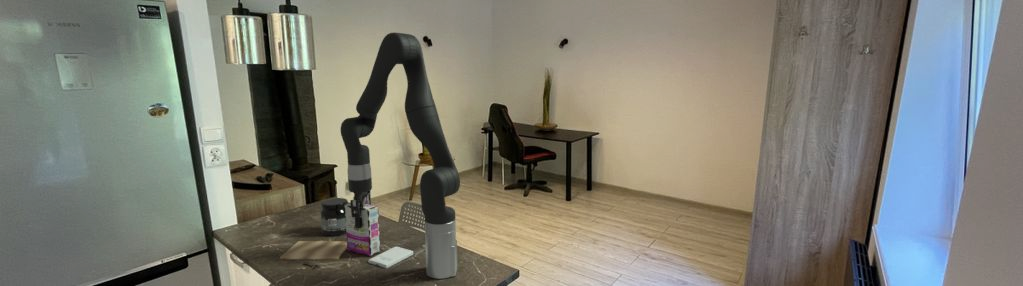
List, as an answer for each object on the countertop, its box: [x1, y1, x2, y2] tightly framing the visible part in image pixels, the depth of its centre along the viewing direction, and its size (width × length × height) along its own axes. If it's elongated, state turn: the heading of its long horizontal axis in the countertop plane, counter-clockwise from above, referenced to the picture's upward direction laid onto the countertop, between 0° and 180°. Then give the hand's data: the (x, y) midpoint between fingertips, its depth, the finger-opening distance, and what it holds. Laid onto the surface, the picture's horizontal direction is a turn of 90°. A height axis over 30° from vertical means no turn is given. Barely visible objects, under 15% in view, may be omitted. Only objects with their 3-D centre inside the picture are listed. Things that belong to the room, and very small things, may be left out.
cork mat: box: [279, 240, 347, 261], centre depth 162 cm, size 19×14×1 cm
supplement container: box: [319, 197, 349, 237], centre depth 179 cm, size 10×10×12 cm
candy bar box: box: [345, 202, 381, 257], centre depth 161 cm, size 11×5×16 cm, turn 62°
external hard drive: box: [367, 246, 414, 269], centre depth 157 cm, size 2×8×12 cm
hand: (362, 223), depth 161 cm, fingers closed on candy bar box, 6 cm apart
